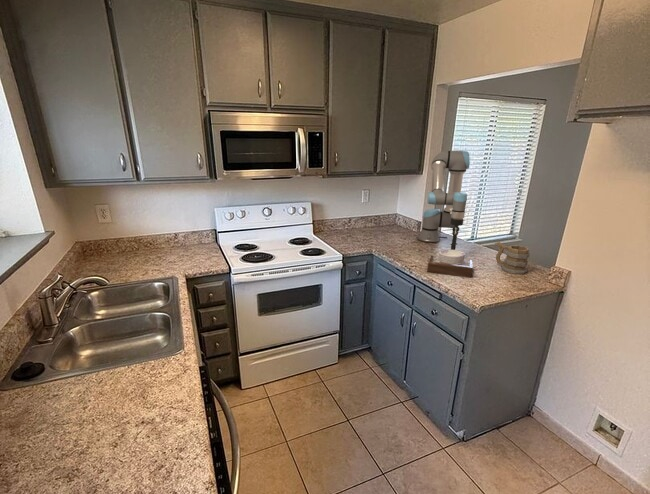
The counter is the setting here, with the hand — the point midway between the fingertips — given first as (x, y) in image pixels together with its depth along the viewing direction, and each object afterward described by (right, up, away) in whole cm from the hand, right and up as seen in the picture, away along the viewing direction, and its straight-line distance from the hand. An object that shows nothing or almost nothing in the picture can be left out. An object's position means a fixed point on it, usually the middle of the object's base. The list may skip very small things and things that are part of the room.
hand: (452, 254), depth 227 cm
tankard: (+29, -9, -12) cm, 33 cm away
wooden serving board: (-7, -10, -15) cm, 20 cm away
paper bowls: (-4, -7, -7) cm, 10 cm away
